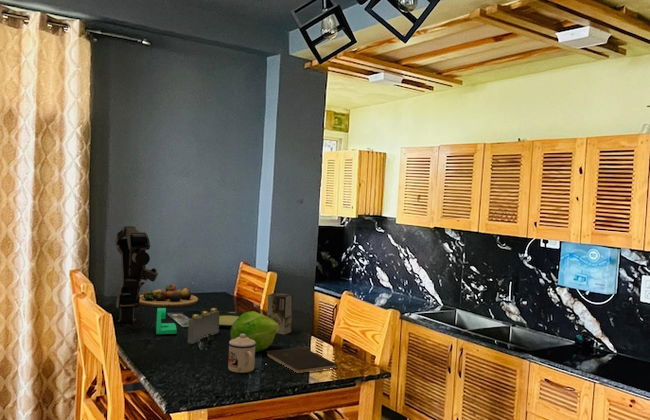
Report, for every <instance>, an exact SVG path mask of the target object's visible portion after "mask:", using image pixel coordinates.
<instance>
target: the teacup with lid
mask: <svg viewBox="0 0 650 420" xmlns="http://www.w3.org/2000/svg"><path fill="white" fill-rule="evenodd" d="M255 346H256V342H255V341H254V340H252V339H250V338H248V337H246V334H240V337H237V338H235V339H230V340H229V342H228V364H227V365H228V367H227V369H228V370H229V372H234V373H242V374H244V373H250V372H252V371H254V369H255V361H256V359H255V358H256V352H255Z"/></svg>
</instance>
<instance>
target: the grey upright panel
mask: <svg viewBox="0 0 650 420" xmlns="http://www.w3.org/2000/svg"><path fill="white" fill-rule="evenodd" d="M201 314H202V315H201ZM201 314H198V313H194V314H192V317H191V318H190V319H188V324H187V325H188V328H187V344H196V343H198V342H200V341H199V340H200V339H202V338H203V337H204V336H205V335H208V334H211V335H212V336H215V335H216V334H219V332H220V326H219V315H220V310H218V309H217V308H216V307H211V308H210V311H207V310H202V311H201ZM199 315H201V316H199Z"/></svg>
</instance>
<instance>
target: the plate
mask: <svg viewBox="0 0 650 420" xmlns="http://www.w3.org/2000/svg"><path fill="white" fill-rule="evenodd" d="M219 311H220V310H219ZM243 313H245V312H242V311H231V310H230V311H226V310H225V311H223V310H222V311H220V315H219V327H224V328H225V327H231V328H232V325H233V323H234V322H235V321H236V320H237V318H238V317H239V316H241V315H242V314H243ZM201 315H202V313H201V314H199V316H201Z"/></svg>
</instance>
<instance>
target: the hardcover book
mask: <svg viewBox="0 0 650 420" xmlns="http://www.w3.org/2000/svg"><path fill="white" fill-rule="evenodd" d="M265 351H266V353H267V357H269V359H272V360H273V361H275V362H277V363H278V364H280V365H281V364H282V365H281V366H283V365H284V366H283V367H285V368H286V367H287V368H286V369H288V368H289V369H288V370H290V369H291V370H293V371H294V372H293V371H292V372H293V373H295V372H296V373H303V372H309V371H316V370H323V369H330V368H335V367H337V368H338V364H337V363H336V362H333V361H331V360H330V359H327V358H326V357H323V356H321V355H320V354H318V353H315V352H314V351H312V350H309V349H307V348H306V347H304V346H300V347H291V348H284V349H274V350H273V349H272V350H265ZM291 370H290V371H291ZM296 373H295V374H296Z"/></svg>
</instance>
